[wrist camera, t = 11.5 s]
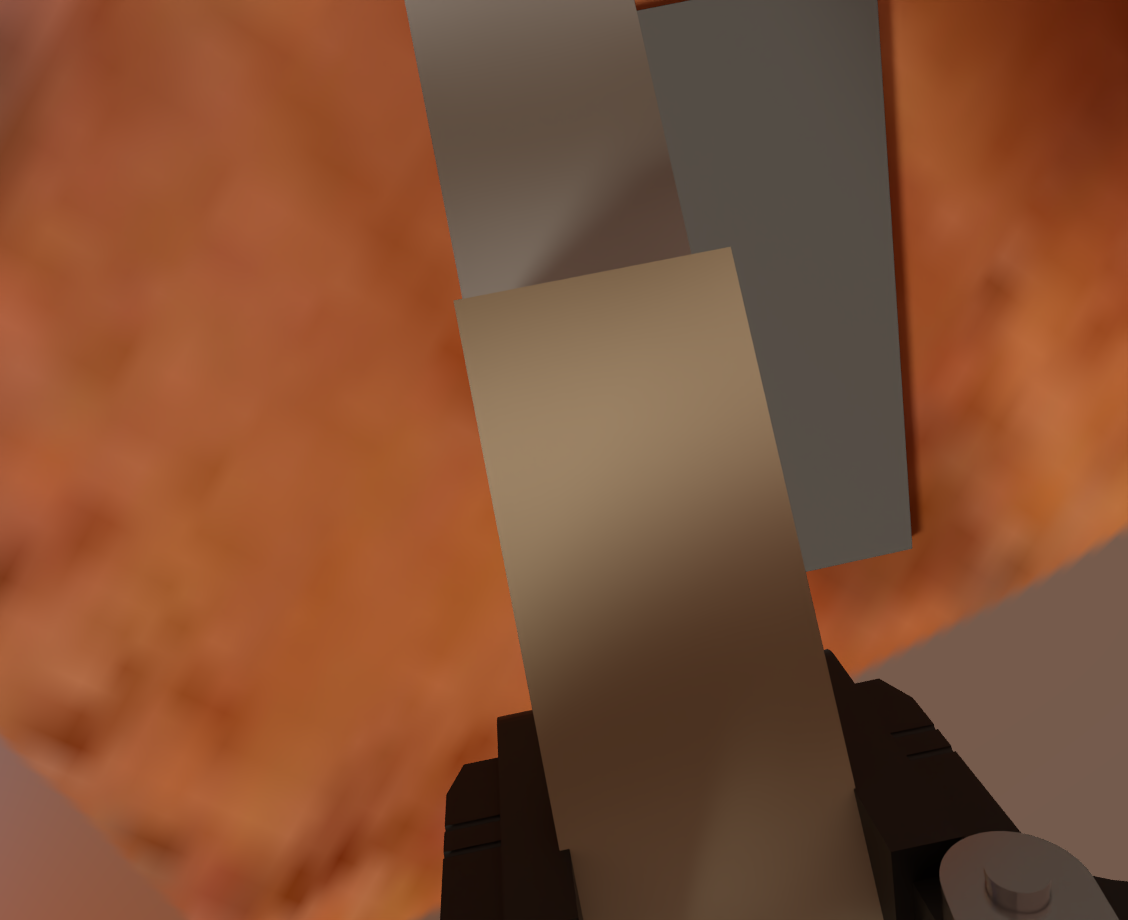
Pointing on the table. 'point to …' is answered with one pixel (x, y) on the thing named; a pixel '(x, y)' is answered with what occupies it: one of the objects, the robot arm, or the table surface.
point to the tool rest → (799, 240)
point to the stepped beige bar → (634, 484)
